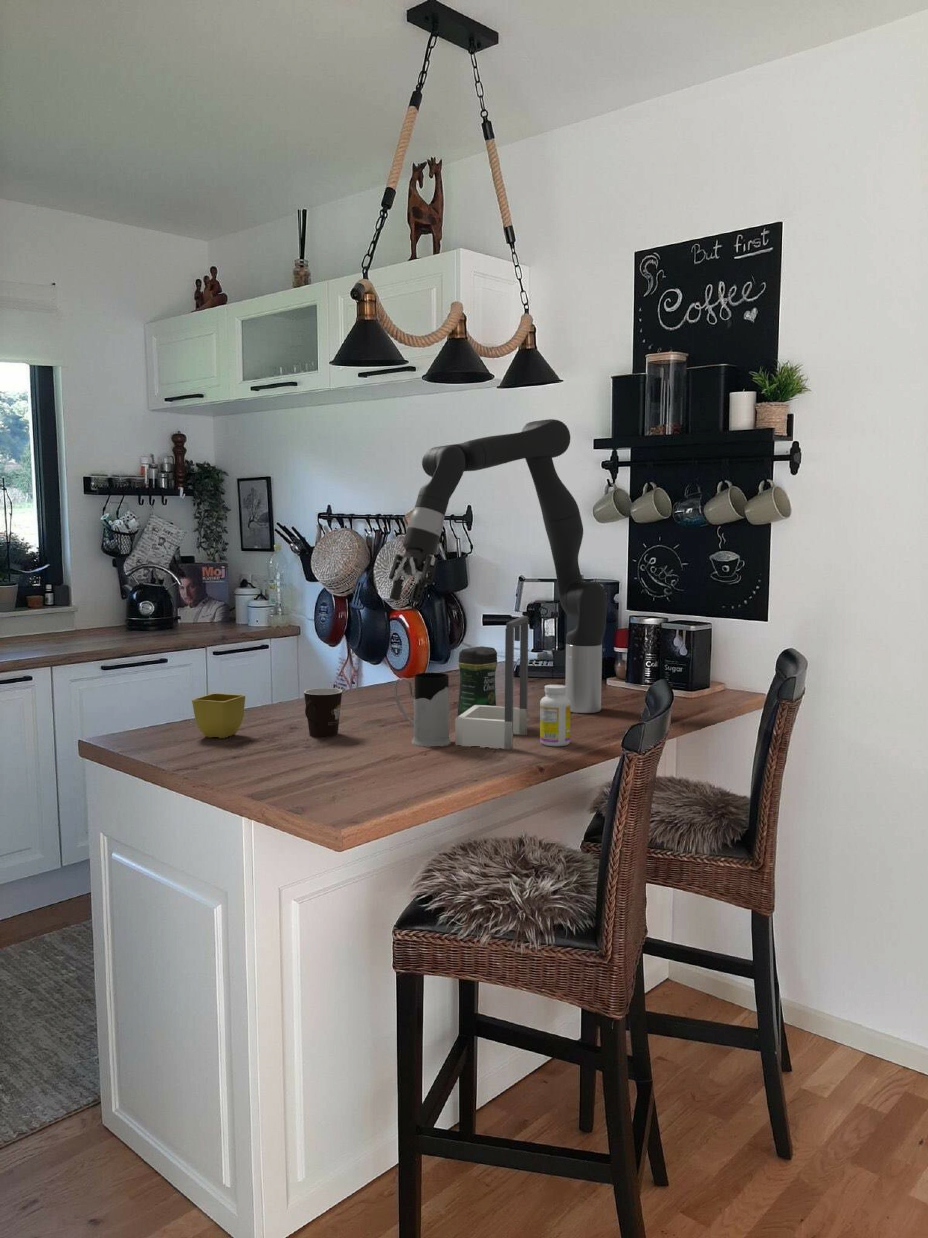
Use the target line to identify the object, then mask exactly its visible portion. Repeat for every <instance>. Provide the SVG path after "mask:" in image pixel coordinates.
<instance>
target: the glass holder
mask: <svg viewBox="0 0 928 1238" xmlns="http://www.w3.org/2000/svg"><path fill="white" fill-rule="evenodd" d="M401 680H404V681H405V682H406V683H407V684H408V689H409V696H410V698H412V699H413V720H412V719H411V718H410V717H409V716H408V715H407V713H406V712H405V710H404V709H403V707H402V705H401V702H400V700H399V695H398V683H399V681H401ZM449 680H450V679H449V674H448V673H443V672H421V673H416V674H414V695H413V686H412V683H411V682H410V680H409V679H408V678H407V677H400V678H398V679H397V680H396V681H395V683H394V687H393V689H394V690H393V691H394V692H393V693H394V698H395V702H396V704H397V707H398V709H399V711H400V713H402V715H403V716H404V717H405V719H406V720H407V721H408V722H409V723H410V724H411V725H412V727H413V738H412V740H411V744H412V745H414V746H416V745H417V747H422V746H430V747H429V748H432V747H431V746H441V747H445V746H444V745H446V746H449V745H451V744H452V740H451V739H450V688H449V685H450V684H449ZM450 743H451V744H450ZM448 744H449V745H448Z"/></svg>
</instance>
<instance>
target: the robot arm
mask: <svg viewBox="0 0 928 1238" xmlns="http://www.w3.org/2000/svg"><path fill="white" fill-rule="evenodd" d="M570 444H571V433H570V429H569V427H568V426H567V425H566V424H565V423H564V422H563V421H561V420H559V419H554V418H553V419H551V418H548V419H542V420H535V421H530V422H527V423H525V425H524V426H523V427H522V430H521V432H519V431H518V432H514V433H507V434H498V435H491V436H490V435H489V436H486V437H485V436H483V437H481V438H476V439H471V440H468V441H464V442H461V443H454V444H447V445H440V446H435V447H432V448H430V449H428V450H427V451H426V452H425V453H424V455H423V456H422V459H421V465H422V466H421V467H422V469H423V471H424V473H425V474H426V475H427V476H428V477H431V479H430V480H429V482H427V483H425V484H423V485H422V486H421V487H420V489H419V491H418V495H417V498H416V501H415V505H414V508H413V511H412V513H411V515H410V518H409V521H408V524H407V528H406V533H405V536H404V539H403V541H402V547H403V549H405V553H404V555H402V554H398V553H396V555H395V557H394V560H393V564H392V565H391V570H390V573H389V575H388V578H389V580H391V581H392V582H393V583H392V588H391V591H390V595H389V599H390V600H393V601H395V602H396V601H397V602H399V601H400V598H401V594H402V590H403V589H404V588H403V587H404V584H405V583H406V581H407V580H408V579H411V577H413V578H414V582H415V583H414V585H413V588H412V591H411V595H410V598H409V599H410V601H411V602H412V603H413V602H414V603H417V604H419V603H421V599H422V596H423V594H424V589H425V587H427V585H432V584H433V581H434V577H435V574H436V569H437V567H438V562H439V559H438V558H437V557H435V555H436V552H437V548H438V545H439V542H440V538H441V534H442V531H443V527H444V521H445V517H446V514H447V508H448V506H449V503H450V502H449V501H450V499H451V497H452V495H453V494H454V492H455V491H456V488H457V486H458V485H459V483H460V482H461V479H462V477H463V475H464V473H465V472H475V471H476V472H477V471H480V470H484V469H488V468H489V469H490V468H493V467H496V466H501V465H503V464H507V463H511V462H515V461H519V460H524V459H525V462H526V464H527V467H528V469H529V472H530V475H531V478H532V481H533V484H534V488H535V491H536V496H537V500H538V504H539V506H540V510H541V514H542V519H543V524H544V529H545V532H546V535H547V539H548V542H549V546H550V550H551V556H552V559H553V561H552V562H553V564H554V569H555V575H556V582H557V589H558V596H559V601H560V605H561V607H562V610H563V611H564V612H565V613H566V614H567V615H568V616H570V617H576V618H578V619H577V625H576V627H575V628H574V629H573V630H571V631H568V632H567V633H566V635H565V643H566V644H565V682H564V683H565V684H564V686H566V693H565V697H567V698H569V700H570V703H571V707H570V713H575V714H576V713H577V714H579V713H580V714H591V713H592V714H594V713H598V712H600V711H601V710H602V669H603V663H602V662H603V639H604V636H605V633H606V629H607V615H608V614H607V613H608V596H607V592H606V589H605V588H604V586H603V585H601V584H600V583H598V582H595V581H594V582H593V581H584V580H583V577H582V575H581V570H580V565H579V554H580V549H581V547H582V542H583V538H584V526H583V521H582V516H581V512H580V508H579V506H578V503H577V501H576V499H575V498H574V496H573V495H572V494H571V492H570V490H569V489H568V488H567V487H566V486H565V484H564V483H563V481H562V480H561V479H560V477H559V475H558V473H557V470H556V467H555V464H554V459H553V458H557V457H560V456H561V455H563V454H565V452H566V451H567V450H568V449H569V447H570ZM428 573H429V574H428Z"/></svg>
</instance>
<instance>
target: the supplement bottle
mask: <svg viewBox="0 0 928 1238" xmlns="http://www.w3.org/2000/svg"><path fill="white" fill-rule="evenodd" d="M544 692H545V696H543V697H542V698H541V699H540V702H539V709H540V711H539V742H540V744H542V745H543V746H547V747H566V746H568V745H569V744H570V743H571V712H570V707H571V703H570V700H569V698H567V697H565V693H566V686H565V684H546V685H544Z"/></svg>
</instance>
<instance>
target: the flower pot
mask: <svg viewBox="0 0 928 1238" xmlns="http://www.w3.org/2000/svg"><path fill="white" fill-rule="evenodd" d="M191 702H192V708H193V713H194V719H195V723H196V725H197V728H198V729H199V731H200V732H201V733H202V735H203V736H204V737H205V736H208V737H207V738H212V737H219V738H218V739H222V738H223V739H225V737H226V738H228V736H229V737H231V736H234V735H236V734H237V733H238V731H239V729H240V727H241V725H242V722H243V720H244V715H245V707H246V706H245V705H246V694H245V695H244V694H232V693H231V694H230V693H219V692H218V693H217V692H215V693H214V692H213V693H209V694H207V695H206V694H205V695H203V696H200V697H196V698H193V699H191ZM233 734H234V735H233Z"/></svg>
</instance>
